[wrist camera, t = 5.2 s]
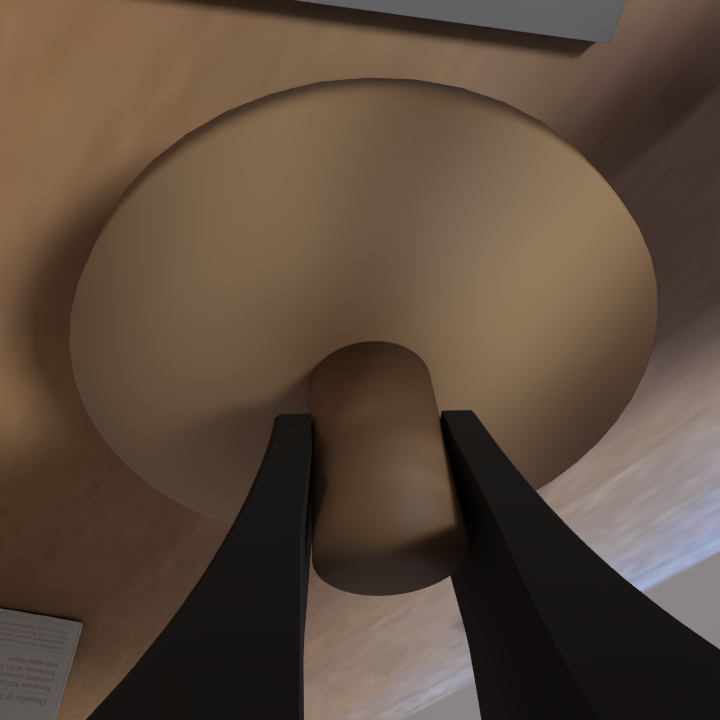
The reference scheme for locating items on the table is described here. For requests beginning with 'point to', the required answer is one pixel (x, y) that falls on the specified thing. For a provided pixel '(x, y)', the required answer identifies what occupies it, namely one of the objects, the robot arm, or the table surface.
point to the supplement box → (34, 663)
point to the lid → (362, 311)
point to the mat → (509, 14)
